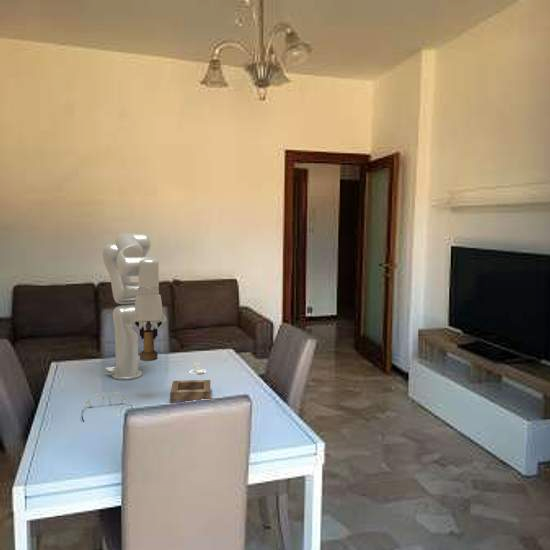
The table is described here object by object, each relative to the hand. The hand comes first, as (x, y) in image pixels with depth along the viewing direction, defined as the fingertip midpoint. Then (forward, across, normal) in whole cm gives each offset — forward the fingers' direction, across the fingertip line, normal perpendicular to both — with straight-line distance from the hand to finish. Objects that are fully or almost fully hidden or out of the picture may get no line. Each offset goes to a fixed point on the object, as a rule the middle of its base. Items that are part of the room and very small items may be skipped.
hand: (148, 337), depth 200 cm
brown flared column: (+9, 0, 0) cm, 9 cm away
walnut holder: (+23, +16, -1) cm, 28 cm away
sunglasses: (+24, -13, -16) cm, 32 cm away
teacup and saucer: (+24, +16, +31) cm, 43 cm away
